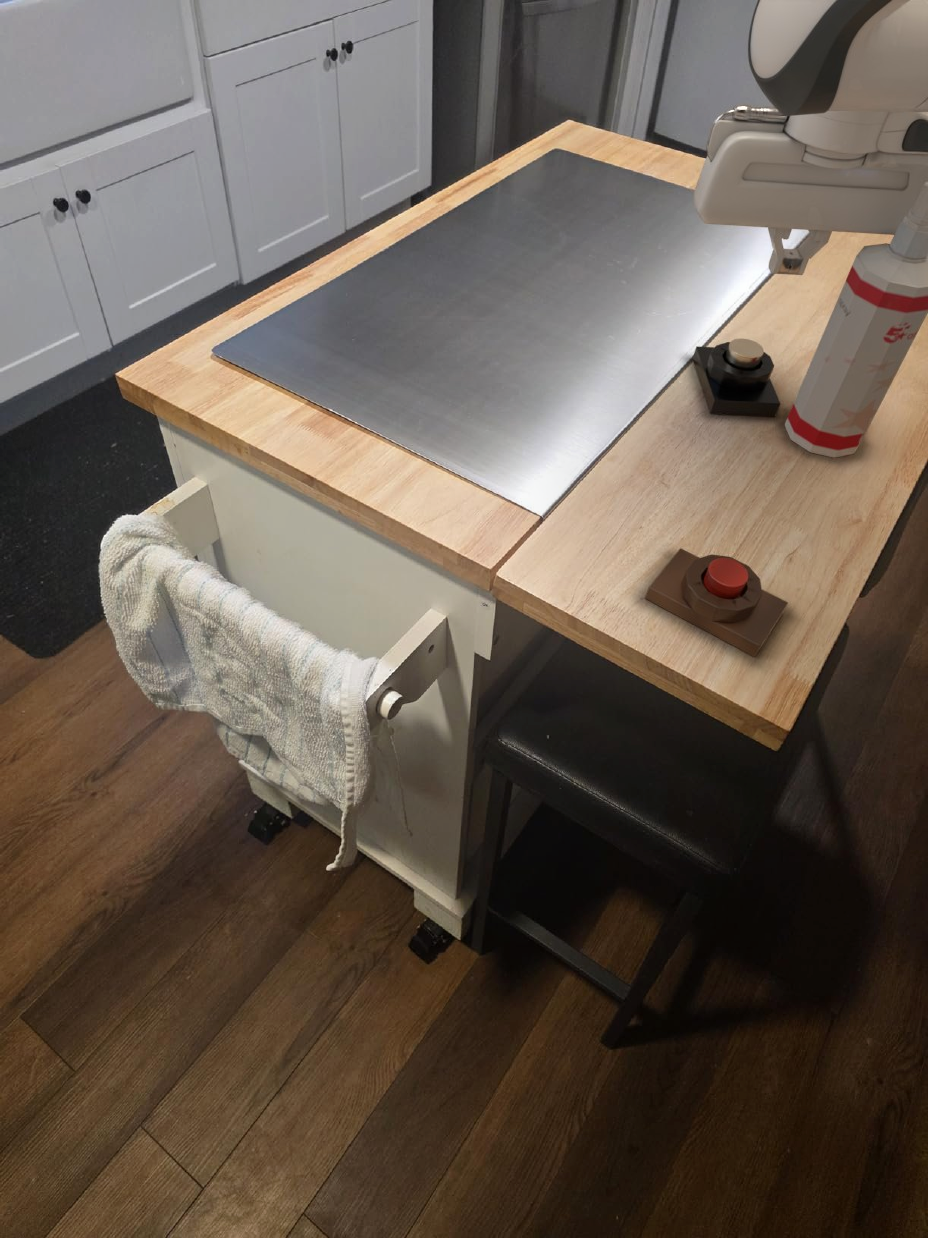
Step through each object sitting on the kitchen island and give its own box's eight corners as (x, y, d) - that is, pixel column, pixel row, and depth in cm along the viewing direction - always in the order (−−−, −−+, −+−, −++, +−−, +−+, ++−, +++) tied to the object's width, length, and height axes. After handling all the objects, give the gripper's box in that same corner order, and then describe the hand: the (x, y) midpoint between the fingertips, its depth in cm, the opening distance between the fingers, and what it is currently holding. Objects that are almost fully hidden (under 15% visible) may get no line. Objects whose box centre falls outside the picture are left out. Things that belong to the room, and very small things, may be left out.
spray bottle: (801, 401, 94) (906, 157, 75) (868, 429, 91) (996, 183, 72) (775, 437, 89) (880, 186, 70) (845, 467, 87) (974, 215, 68)
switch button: (753, 353, 93) (759, 339, 92) (762, 373, 91) (767, 358, 90) (721, 351, 93) (726, 337, 92) (728, 371, 91) (733, 356, 89)
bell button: (748, 582, 72) (754, 569, 70) (732, 605, 70) (738, 592, 69) (713, 564, 73) (718, 551, 72) (696, 587, 71) (702, 573, 70)
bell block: (782, 612, 73) (795, 588, 71) (754, 657, 70) (766, 633, 68) (676, 558, 77) (685, 534, 74) (644, 598, 73) (652, 574, 71)
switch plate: (753, 362, 98) (763, 334, 95) (775, 417, 91) (786, 388, 89) (692, 359, 97) (700, 331, 95) (709, 413, 91) (719, 385, 88)
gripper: (725, 117, 69) (681, 282, 80) (975, 133, 70) (899, 294, 81) (710, 88, 73) (670, 249, 84) (946, 104, 74) (878, 261, 85)
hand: (784, 271), depth 82 cm, fingers closed
